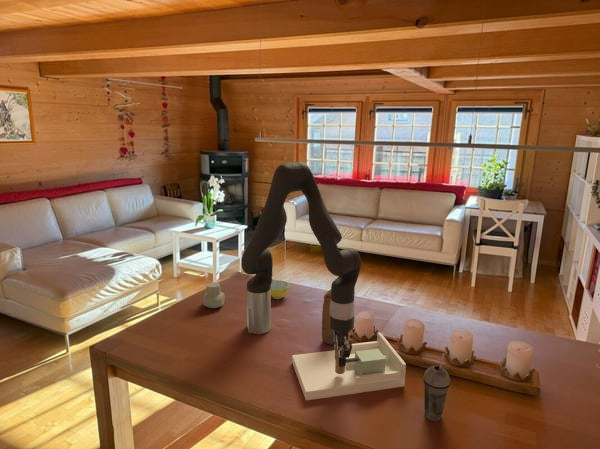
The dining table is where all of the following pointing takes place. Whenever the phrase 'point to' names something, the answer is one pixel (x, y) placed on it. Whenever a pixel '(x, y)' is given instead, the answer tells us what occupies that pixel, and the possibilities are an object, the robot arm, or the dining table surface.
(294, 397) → the dining table surface
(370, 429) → the dining table surface
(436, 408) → the beverage cup
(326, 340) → the brown tall faceted piece
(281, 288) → the bowl
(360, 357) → the pull block
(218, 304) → the air freshener
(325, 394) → the shelf
